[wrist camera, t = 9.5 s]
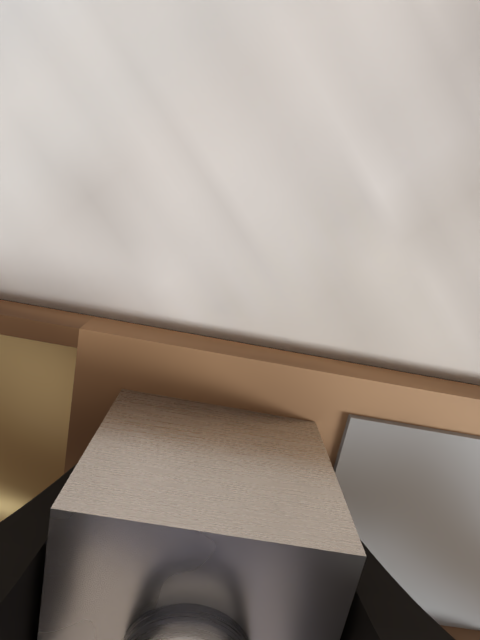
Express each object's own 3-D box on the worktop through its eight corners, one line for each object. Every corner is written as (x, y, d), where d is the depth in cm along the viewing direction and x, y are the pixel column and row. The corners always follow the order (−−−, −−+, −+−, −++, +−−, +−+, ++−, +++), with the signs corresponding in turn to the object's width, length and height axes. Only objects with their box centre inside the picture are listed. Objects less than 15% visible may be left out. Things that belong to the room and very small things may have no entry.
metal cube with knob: (274, 577, 13) (305, 849, 7) (99, 552, 12) (-3, 818, 7) (315, 421, 11) (388, 612, 6) (121, 388, 11) (19, 559, 6)
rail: (460, 616, 15) (522, 726, 12) (-310, 506, 13) (-477, 600, 10) (547, 397, 13) (650, 460, 10) (-346, 237, 11) (-569, 250, 8)
